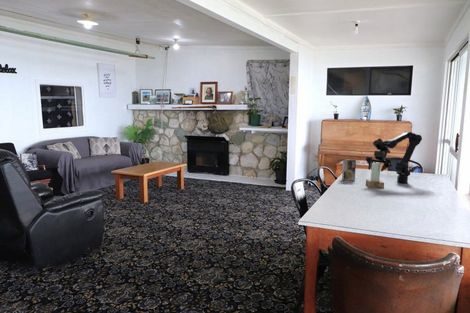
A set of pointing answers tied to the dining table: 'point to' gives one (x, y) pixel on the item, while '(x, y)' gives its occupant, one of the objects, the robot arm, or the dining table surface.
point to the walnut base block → (374, 184)
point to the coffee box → (348, 169)
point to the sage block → (375, 172)
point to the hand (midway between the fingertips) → (374, 170)
